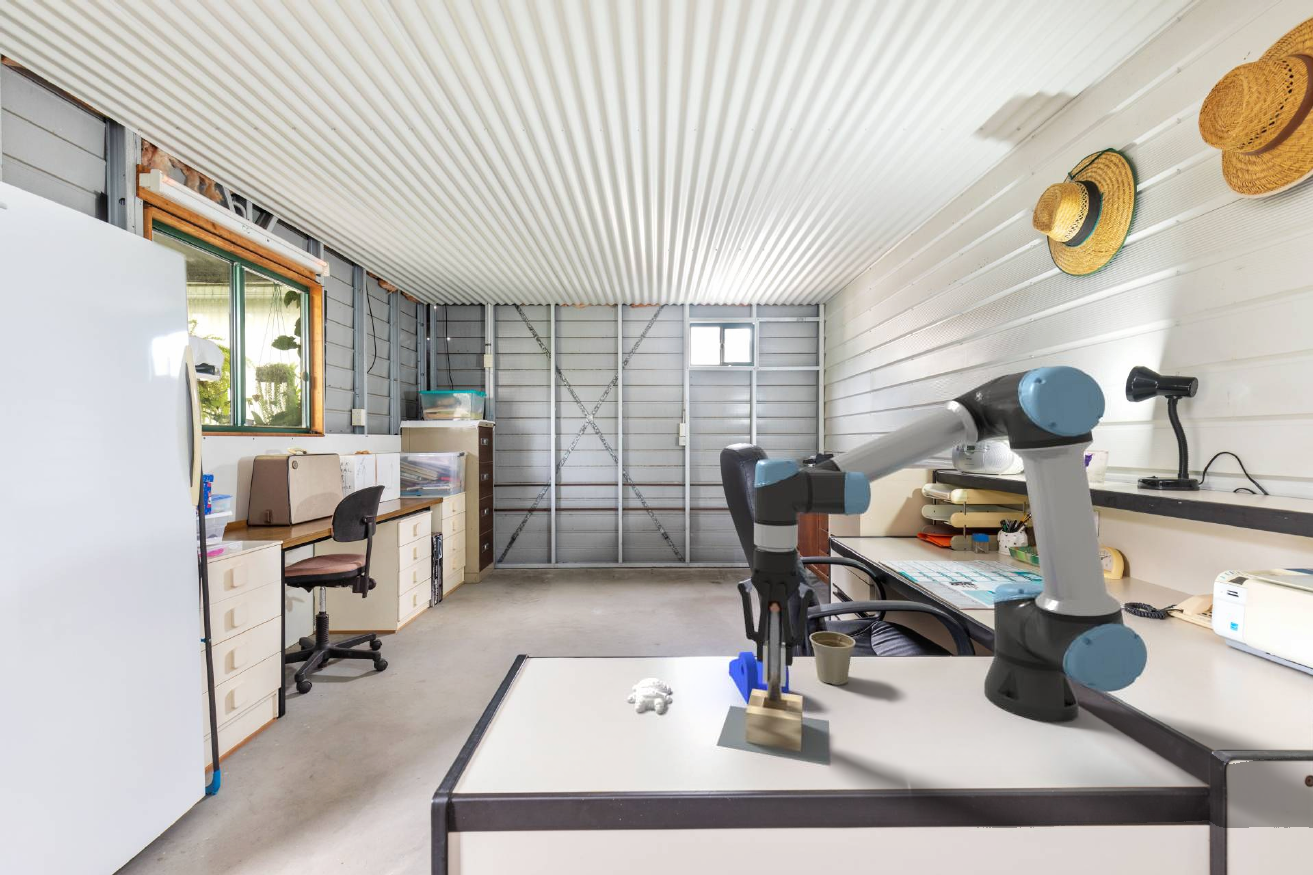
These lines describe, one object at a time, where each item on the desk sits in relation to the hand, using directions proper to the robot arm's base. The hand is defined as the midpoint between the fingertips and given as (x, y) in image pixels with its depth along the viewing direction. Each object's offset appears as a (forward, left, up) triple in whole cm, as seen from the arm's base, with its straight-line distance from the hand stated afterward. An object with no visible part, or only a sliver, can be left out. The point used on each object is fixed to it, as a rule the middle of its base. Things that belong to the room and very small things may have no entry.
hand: (774, 681), depth 93 cm
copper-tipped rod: (0, 0, -3) cm, 3 cm away
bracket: (+6, -18, -10) cm, 22 cm away
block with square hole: (0, 0, -9) cm, 9 cm away
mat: (0, 0, -9) cm, 9 cm away
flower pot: (-10, -26, -9) cm, 29 cm away
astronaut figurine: (+25, -6, -10) cm, 27 cm away
